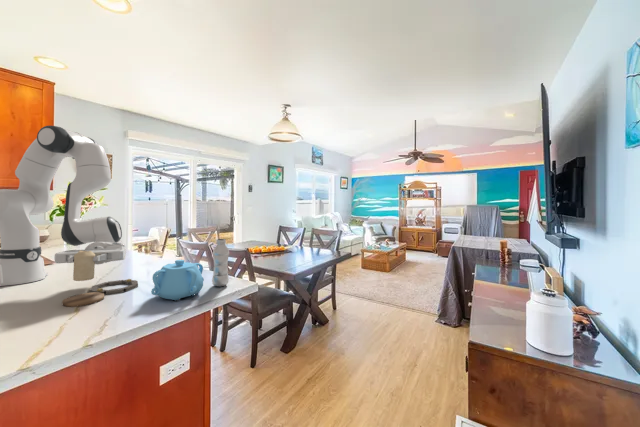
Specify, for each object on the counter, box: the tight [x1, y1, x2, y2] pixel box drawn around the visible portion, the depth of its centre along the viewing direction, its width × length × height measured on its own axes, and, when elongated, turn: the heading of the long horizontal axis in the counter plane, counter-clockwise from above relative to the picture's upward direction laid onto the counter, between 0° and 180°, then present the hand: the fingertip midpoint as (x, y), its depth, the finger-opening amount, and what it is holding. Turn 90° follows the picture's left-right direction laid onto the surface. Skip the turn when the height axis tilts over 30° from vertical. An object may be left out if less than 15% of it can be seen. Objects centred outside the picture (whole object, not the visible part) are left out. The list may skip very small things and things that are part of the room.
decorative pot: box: [150, 259, 204, 301], centre depth 101 cm, size 16×16×14 cm
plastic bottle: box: [211, 238, 230, 287], centre depth 113 cm, size 6×7×20 cm
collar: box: [89, 278, 139, 296], centre depth 107 cm, size 15×15×2 cm
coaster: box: [61, 292, 105, 308], centre depth 93 cm, size 11×11×1 cm
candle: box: [72, 251, 96, 282], centre depth 93 cm, size 6×6×10 cm
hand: (83, 259), depth 92 cm, fingers closed on candle, 5 cm apart
